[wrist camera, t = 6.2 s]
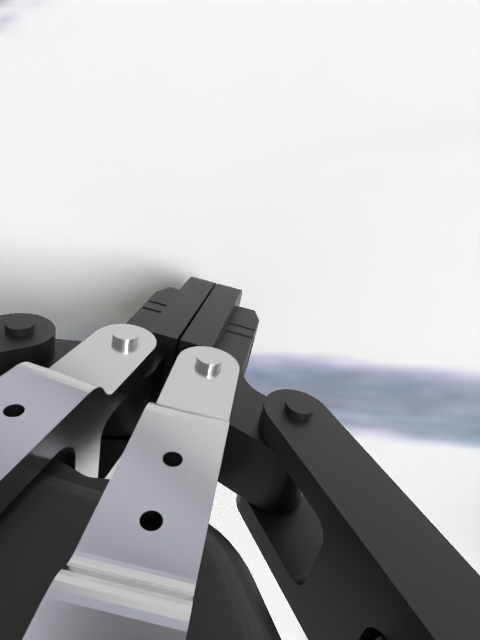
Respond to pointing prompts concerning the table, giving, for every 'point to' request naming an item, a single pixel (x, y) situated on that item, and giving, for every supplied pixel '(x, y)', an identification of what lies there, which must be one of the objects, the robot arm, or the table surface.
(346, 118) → the table surface
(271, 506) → the robot arm
